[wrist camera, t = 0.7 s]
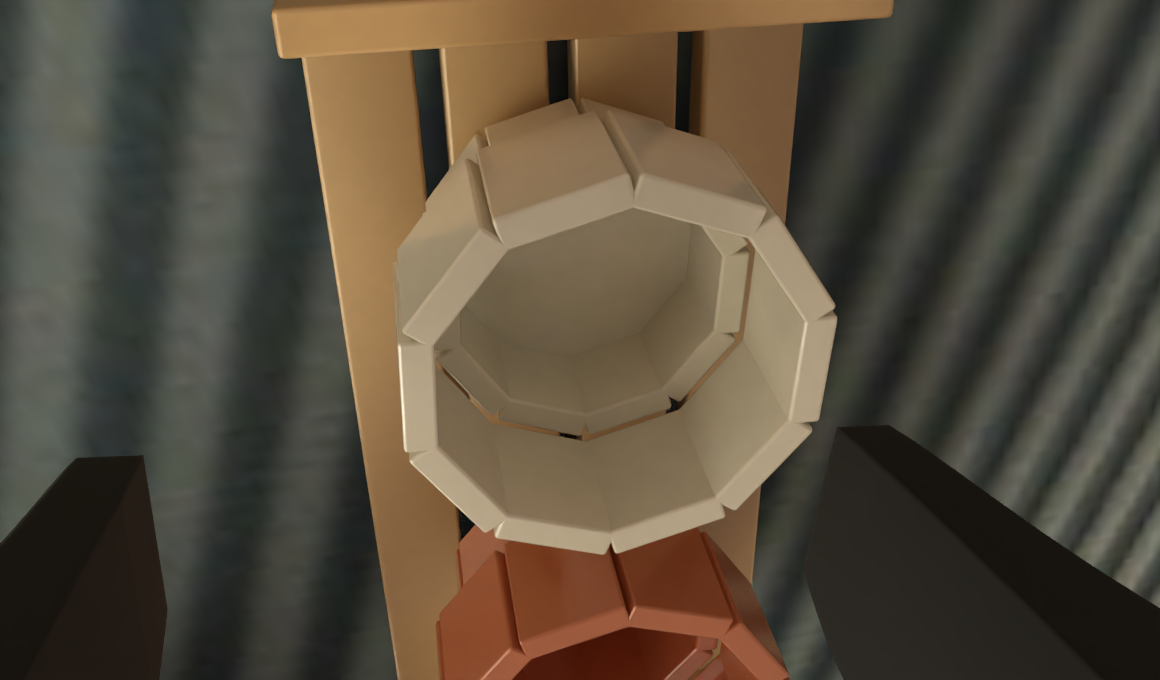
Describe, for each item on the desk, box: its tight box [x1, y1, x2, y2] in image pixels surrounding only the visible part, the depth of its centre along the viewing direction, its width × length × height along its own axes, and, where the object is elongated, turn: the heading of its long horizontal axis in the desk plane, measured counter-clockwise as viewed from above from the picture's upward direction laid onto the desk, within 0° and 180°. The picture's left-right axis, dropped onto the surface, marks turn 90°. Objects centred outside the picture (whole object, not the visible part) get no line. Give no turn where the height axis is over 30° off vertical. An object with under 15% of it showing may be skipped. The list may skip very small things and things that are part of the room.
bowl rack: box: [271, 0, 894, 680], centre depth 20 cm, size 8×16×6 cm, turn 1°
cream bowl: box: [393, 98, 837, 555], centre depth 16 cm, size 6×6×4 cm
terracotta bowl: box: [436, 524, 790, 680], centre depth 20 cm, size 6×6×4 cm
